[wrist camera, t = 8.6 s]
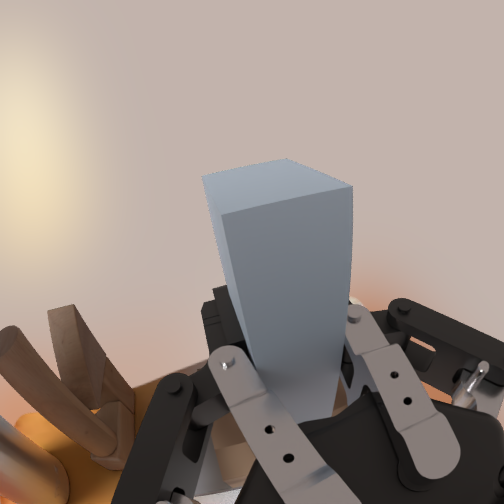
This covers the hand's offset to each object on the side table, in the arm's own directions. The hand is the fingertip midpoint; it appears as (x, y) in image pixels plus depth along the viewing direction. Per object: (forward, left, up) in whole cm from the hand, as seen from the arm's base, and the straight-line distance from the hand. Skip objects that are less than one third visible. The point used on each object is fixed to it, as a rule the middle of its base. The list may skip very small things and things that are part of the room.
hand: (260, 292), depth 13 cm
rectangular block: (0, -3, -8) cm, 9 cm away
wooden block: (-17, +5, -18) cm, 25 cm away
